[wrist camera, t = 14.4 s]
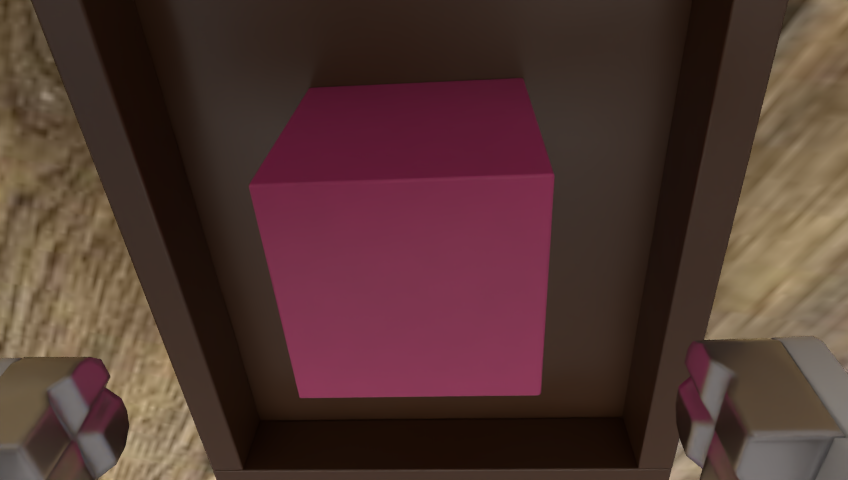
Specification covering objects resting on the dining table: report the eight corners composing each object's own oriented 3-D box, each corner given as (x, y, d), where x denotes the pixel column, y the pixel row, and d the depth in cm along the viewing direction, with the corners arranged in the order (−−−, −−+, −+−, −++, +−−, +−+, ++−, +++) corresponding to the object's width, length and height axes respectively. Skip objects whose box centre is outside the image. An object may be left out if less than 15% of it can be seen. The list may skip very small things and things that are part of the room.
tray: (4, -327, 11) (-118, -378, 9) (802, -404, 10) (910, -486, 8) (245, 421, 22) (219, 490, 19) (642, 417, 21) (667, 490, 18)
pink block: (308, 87, 14) (246, 185, 10) (523, 77, 14) (554, 174, 10) (337, 262, 17) (298, 399, 13) (518, 258, 16) (541, 396, 12)
